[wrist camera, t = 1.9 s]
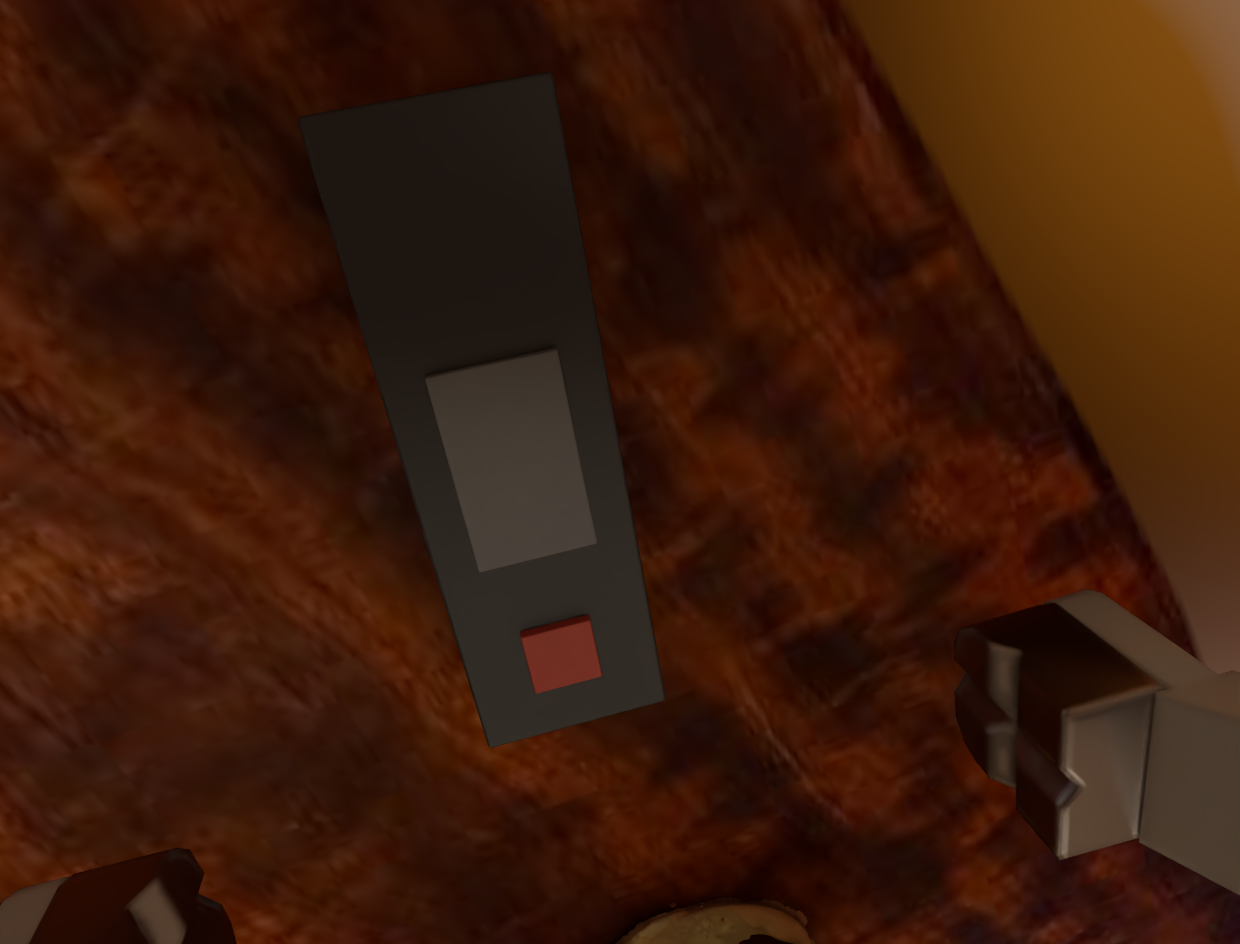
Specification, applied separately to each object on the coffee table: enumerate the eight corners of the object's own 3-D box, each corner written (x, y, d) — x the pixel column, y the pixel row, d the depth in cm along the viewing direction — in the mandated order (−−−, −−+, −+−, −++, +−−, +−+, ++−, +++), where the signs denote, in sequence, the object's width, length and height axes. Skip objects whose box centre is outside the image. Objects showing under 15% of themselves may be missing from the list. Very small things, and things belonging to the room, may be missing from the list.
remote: (315, 117, 16) (293, 117, 14) (538, 77, 16) (554, 69, 14) (484, 687, 22) (489, 756, 19) (644, 644, 22) (668, 707, 20)
